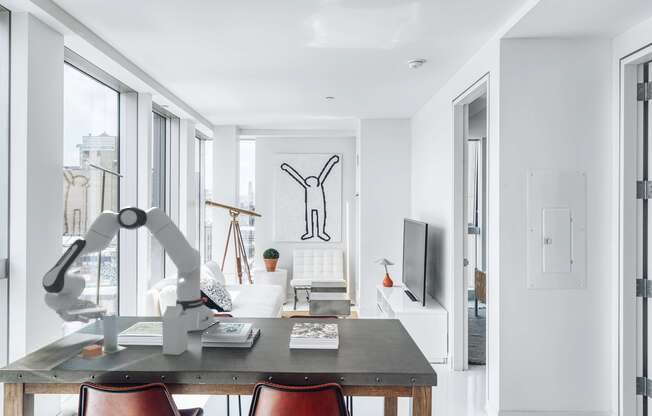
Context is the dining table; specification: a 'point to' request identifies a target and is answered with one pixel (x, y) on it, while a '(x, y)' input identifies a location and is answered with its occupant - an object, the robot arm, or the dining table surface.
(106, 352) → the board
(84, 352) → the terracotta marker
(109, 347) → the tall grey block
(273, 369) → the dining table surface
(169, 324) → the milk carton
